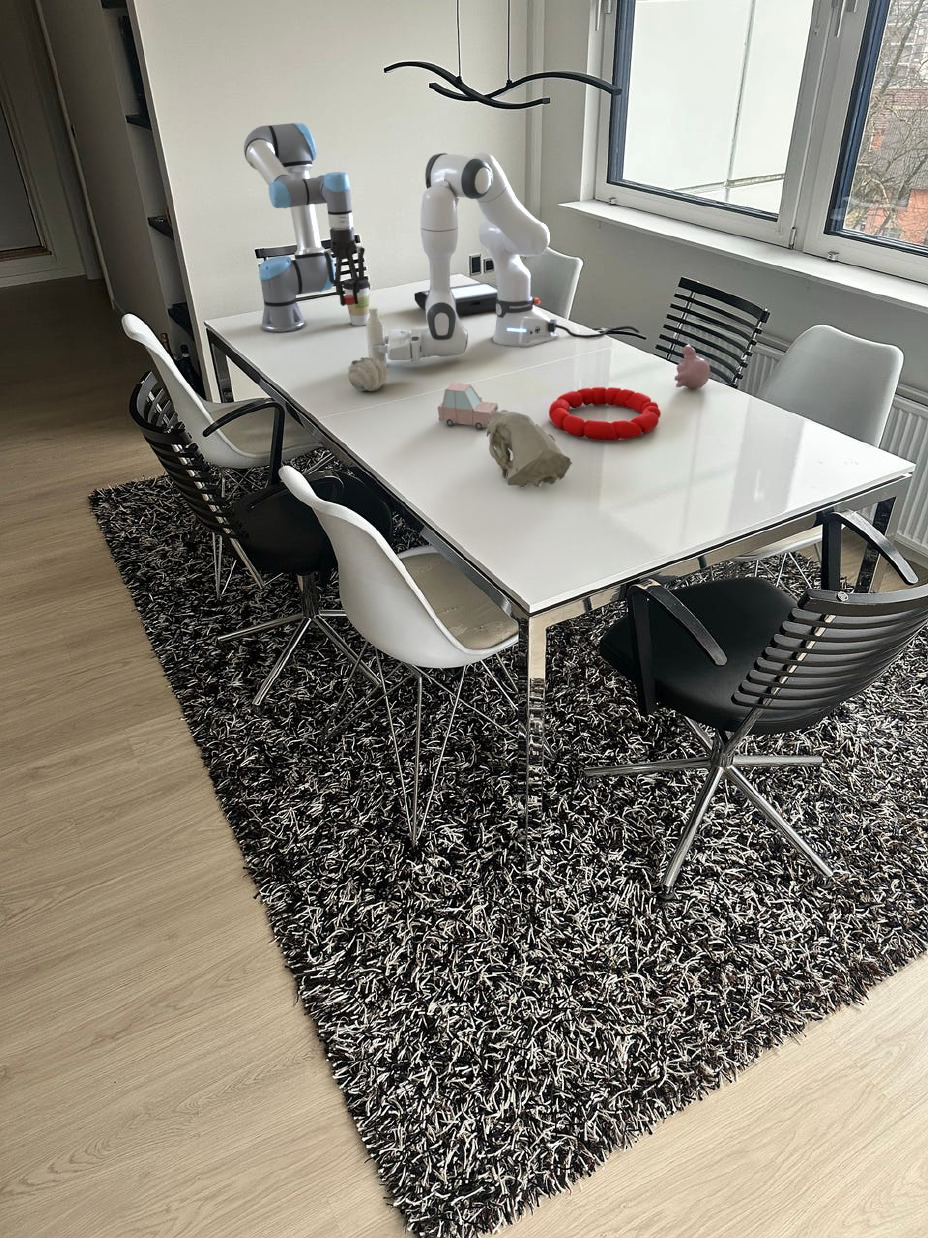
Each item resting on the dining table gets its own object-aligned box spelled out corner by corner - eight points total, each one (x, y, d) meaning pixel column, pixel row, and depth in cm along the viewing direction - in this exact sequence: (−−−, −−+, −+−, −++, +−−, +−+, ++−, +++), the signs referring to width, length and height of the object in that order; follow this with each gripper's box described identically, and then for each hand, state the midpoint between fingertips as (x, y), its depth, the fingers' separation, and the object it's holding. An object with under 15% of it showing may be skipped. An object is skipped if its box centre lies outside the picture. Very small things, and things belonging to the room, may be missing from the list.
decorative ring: (589, 435, 224) (684, 402, 234) (527, 398, 247) (617, 369, 256) (589, 461, 229) (683, 427, 238) (529, 422, 251) (617, 393, 260)
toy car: (488, 432, 240) (488, 396, 234) (436, 426, 244) (434, 390, 239) (499, 419, 247) (499, 384, 241) (448, 413, 252) (447, 379, 246)
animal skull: (496, 517, 219) (521, 479, 201) (463, 429, 225) (484, 384, 207) (557, 503, 225) (586, 465, 206) (523, 417, 231) (549, 373, 212)
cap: (344, 301, 294) (343, 294, 293) (356, 301, 294) (355, 294, 293) (342, 305, 291) (341, 297, 290) (354, 304, 291) (353, 297, 290)
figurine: (665, 387, 264) (669, 347, 257) (693, 380, 268) (698, 340, 261) (686, 396, 257) (690, 355, 250) (714, 388, 262) (720, 348, 255)
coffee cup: (372, 326, 323) (368, 283, 314) (345, 327, 323) (340, 284, 315) (374, 318, 331) (371, 276, 322) (348, 319, 331) (344, 277, 323)
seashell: (340, 389, 270) (336, 357, 264) (385, 380, 276) (382, 348, 270) (353, 400, 262) (350, 366, 257) (399, 390, 268) (397, 357, 262)
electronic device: (434, 303, 323) (414, 291, 338) (435, 321, 326) (415, 307, 341) (513, 291, 333) (490, 280, 348) (512, 308, 336) (490, 296, 352)
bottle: (378, 361, 291) (373, 304, 281) (390, 365, 288) (386, 307, 277) (366, 366, 287) (360, 308, 277) (378, 369, 284) (373, 311, 274)
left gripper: (318, 232, 274) (327, 309, 287) (370, 226, 279) (377, 303, 292) (312, 228, 280) (321, 304, 293) (364, 222, 285) (370, 298, 298)
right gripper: (416, 323, 291) (374, 325, 291) (416, 343, 274) (371, 344, 274) (417, 342, 294) (375, 344, 294) (417, 363, 277) (373, 365, 277)
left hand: (349, 303), depth 293 cm, fingers closed on cap, 4 cm apart
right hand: (373, 344), depth 284 cm, fingers closed on bottle, 5 cm apart
